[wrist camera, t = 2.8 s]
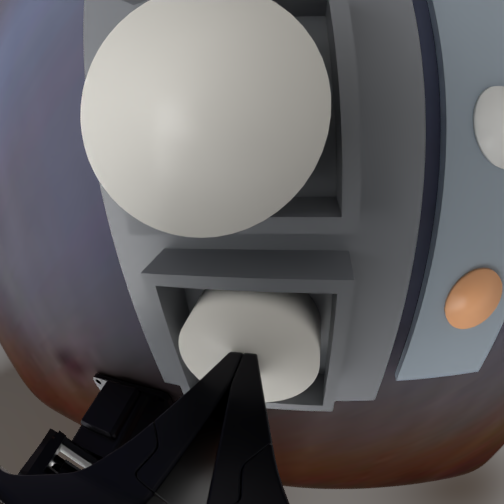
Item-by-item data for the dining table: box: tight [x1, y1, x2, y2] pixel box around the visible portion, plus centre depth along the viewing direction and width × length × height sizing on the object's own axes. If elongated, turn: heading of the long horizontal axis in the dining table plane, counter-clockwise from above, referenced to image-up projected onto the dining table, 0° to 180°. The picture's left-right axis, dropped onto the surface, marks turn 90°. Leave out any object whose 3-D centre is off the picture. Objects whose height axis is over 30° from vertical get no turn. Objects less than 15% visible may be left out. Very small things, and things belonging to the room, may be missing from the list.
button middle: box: [80, 0, 331, 238], centre depth 5 cm, size 4×4×2 cm
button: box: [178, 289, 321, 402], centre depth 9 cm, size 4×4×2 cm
